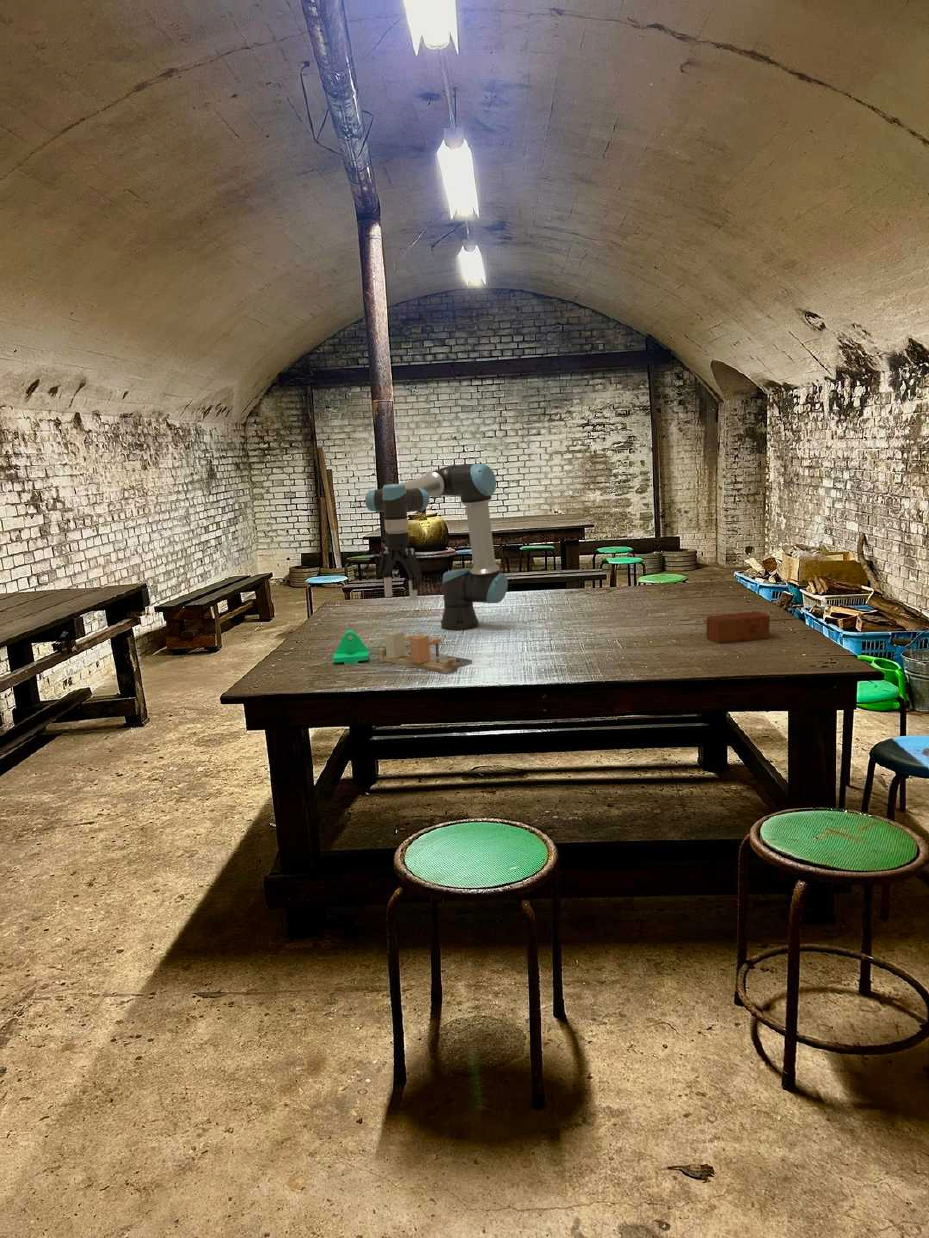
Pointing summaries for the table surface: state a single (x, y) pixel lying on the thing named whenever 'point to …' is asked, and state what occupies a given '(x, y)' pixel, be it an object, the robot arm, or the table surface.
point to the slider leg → (422, 648)
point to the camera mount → (351, 649)
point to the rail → (444, 668)
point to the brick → (738, 627)
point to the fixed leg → (396, 643)
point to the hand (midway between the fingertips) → (401, 598)
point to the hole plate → (441, 658)
